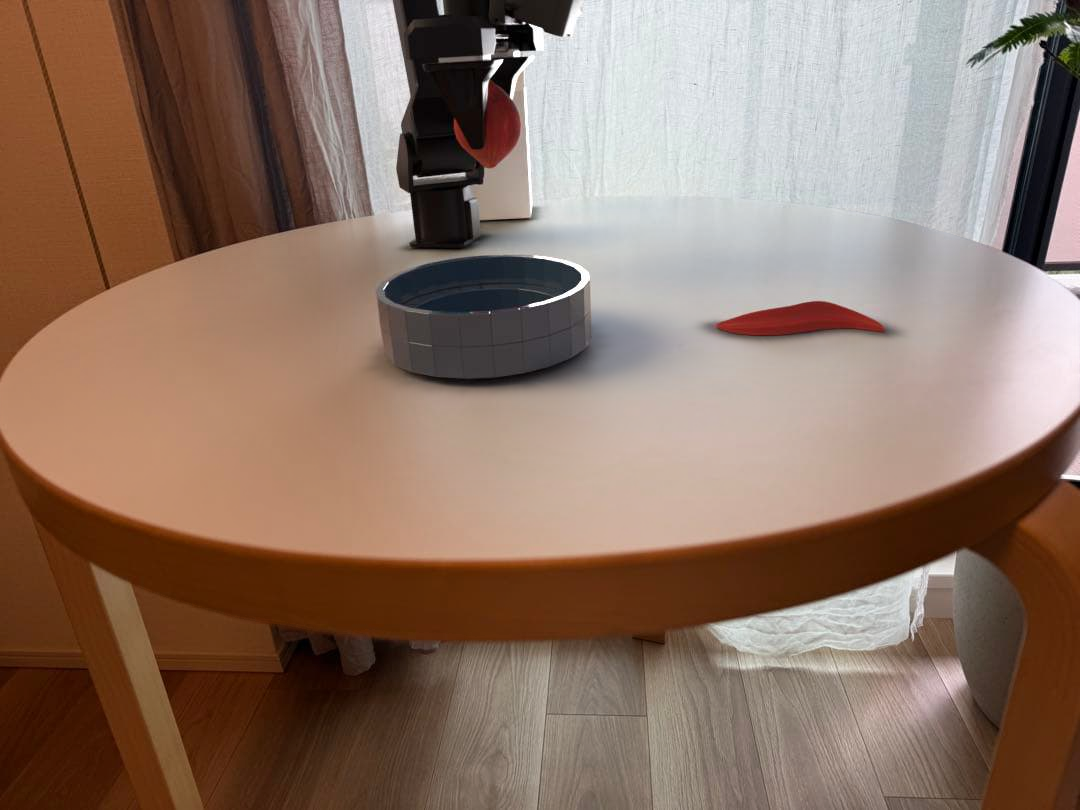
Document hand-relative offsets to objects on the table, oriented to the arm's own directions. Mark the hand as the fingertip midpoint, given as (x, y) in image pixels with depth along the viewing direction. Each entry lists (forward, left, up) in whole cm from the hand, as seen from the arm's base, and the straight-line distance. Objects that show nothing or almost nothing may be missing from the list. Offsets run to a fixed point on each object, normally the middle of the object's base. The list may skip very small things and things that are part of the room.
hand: (489, 145), depth 73 cm
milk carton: (-9, +30, -12) cm, 33 cm away
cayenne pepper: (+27, -10, -12) cm, 31 cm away
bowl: (+5, -17, -12) cm, 22 cm away
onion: (0, 0, -2) cm, 2 cm away
